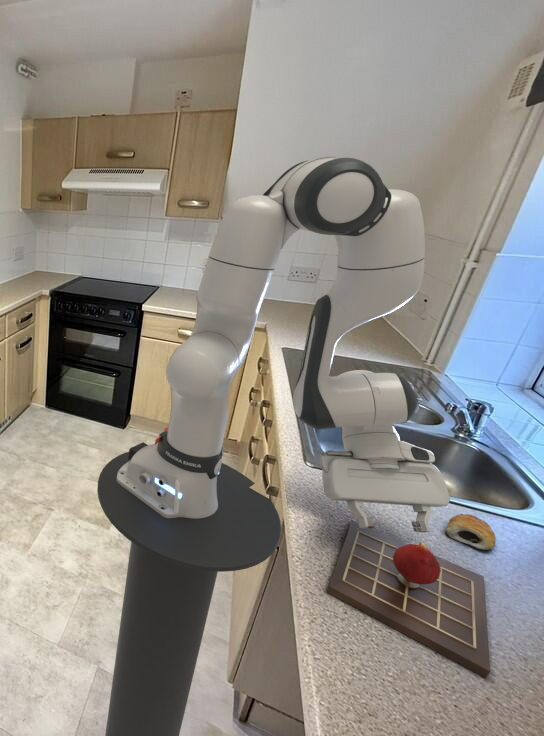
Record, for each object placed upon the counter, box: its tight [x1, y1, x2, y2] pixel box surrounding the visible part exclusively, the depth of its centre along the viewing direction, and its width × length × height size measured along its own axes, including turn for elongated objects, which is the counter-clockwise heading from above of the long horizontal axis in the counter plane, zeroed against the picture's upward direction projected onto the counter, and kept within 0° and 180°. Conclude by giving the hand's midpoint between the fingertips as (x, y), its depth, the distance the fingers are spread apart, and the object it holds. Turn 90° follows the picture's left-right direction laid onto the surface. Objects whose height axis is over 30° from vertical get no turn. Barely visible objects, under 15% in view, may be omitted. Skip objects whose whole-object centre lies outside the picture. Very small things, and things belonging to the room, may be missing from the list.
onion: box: [393, 541, 441, 584], centre depth 70 cm, size 6×6×8 cm
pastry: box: [445, 513, 497, 551], centre depth 83 cm, size 9×7×4 cm
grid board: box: [326, 519, 491, 679], centre depth 71 cm, size 19×22×2 cm
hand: (394, 530), depth 74 cm, fingers open, 8 cm apart
